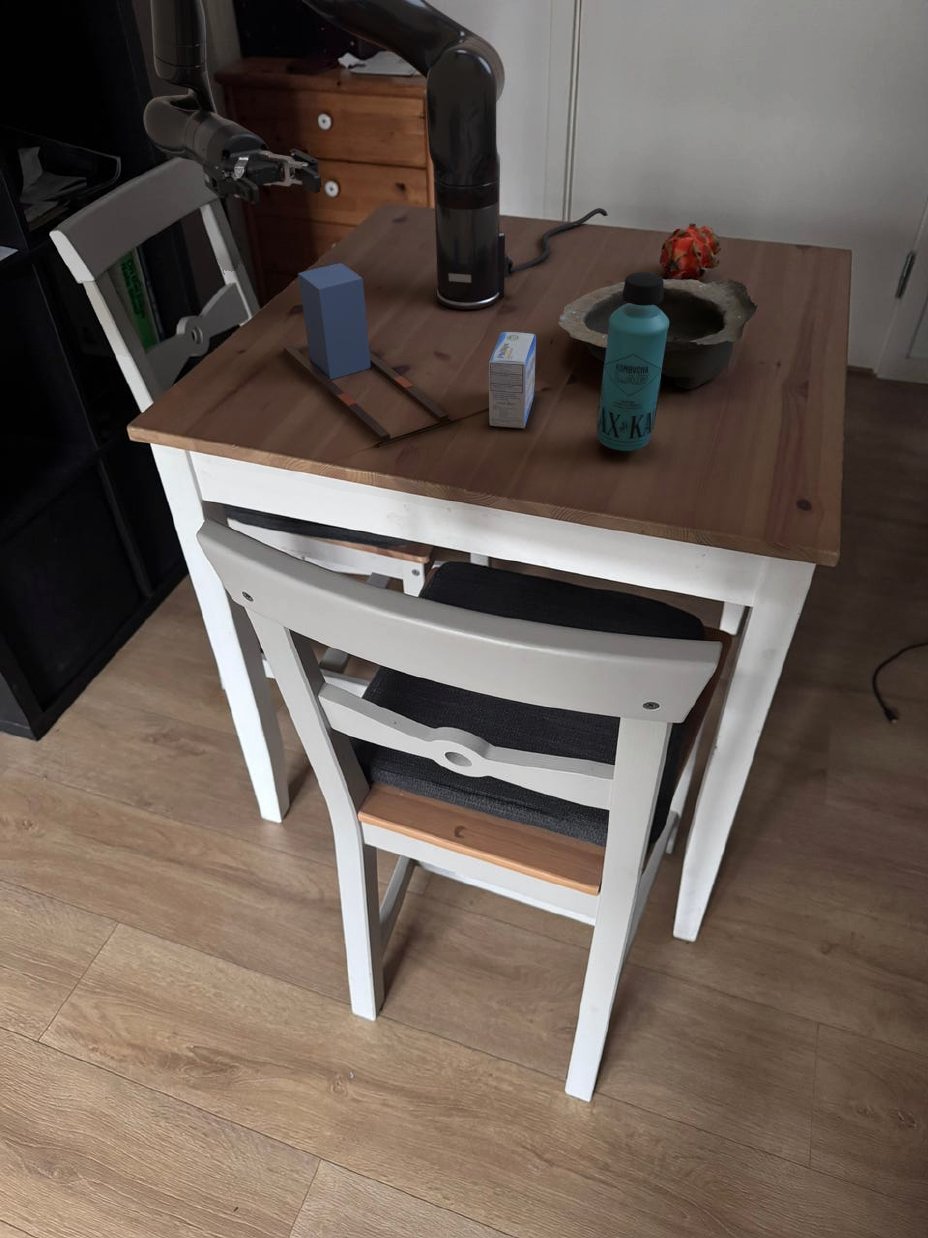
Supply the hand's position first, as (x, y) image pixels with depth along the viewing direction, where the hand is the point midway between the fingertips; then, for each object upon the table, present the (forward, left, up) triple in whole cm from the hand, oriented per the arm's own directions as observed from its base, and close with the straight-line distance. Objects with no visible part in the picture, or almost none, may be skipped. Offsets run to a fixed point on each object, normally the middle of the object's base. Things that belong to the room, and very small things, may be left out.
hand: (287, 189), depth 113 cm
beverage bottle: (-18, +47, -20) cm, 54 cm away
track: (0, +17, -20) cm, 26 cm away
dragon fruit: (-58, +14, -20) cm, 63 cm away
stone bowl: (-35, +32, -20) cm, 51 cm away
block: (0, +11, -19) cm, 22 cm away
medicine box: (-12, +33, -20) cm, 40 cm away
